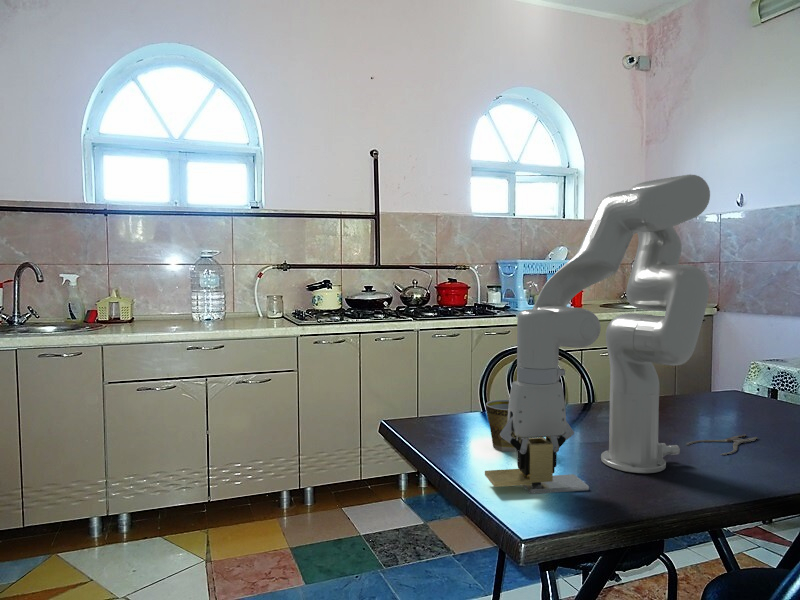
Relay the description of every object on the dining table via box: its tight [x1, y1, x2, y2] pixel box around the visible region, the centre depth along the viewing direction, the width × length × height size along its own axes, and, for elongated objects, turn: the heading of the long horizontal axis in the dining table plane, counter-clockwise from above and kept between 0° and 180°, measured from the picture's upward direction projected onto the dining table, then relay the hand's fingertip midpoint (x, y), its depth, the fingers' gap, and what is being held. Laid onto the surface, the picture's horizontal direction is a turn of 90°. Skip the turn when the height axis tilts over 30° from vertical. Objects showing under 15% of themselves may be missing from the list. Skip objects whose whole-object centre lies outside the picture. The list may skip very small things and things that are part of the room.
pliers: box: [685, 433, 759, 456], centre depth 132 cm, size 10×1×20 cm
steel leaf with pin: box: [522, 473, 590, 495], centre depth 106 cm, size 11×6×8 cm, turn 98°
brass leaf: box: [484, 437, 554, 488], centre depth 105 cm, size 11×6×7 cm, turn 98°
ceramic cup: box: [485, 399, 518, 453], centre depth 131 cm, size 13×10×10 cm
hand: (536, 470), depth 106 cm, fingers closed on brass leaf, 4 cm apart
